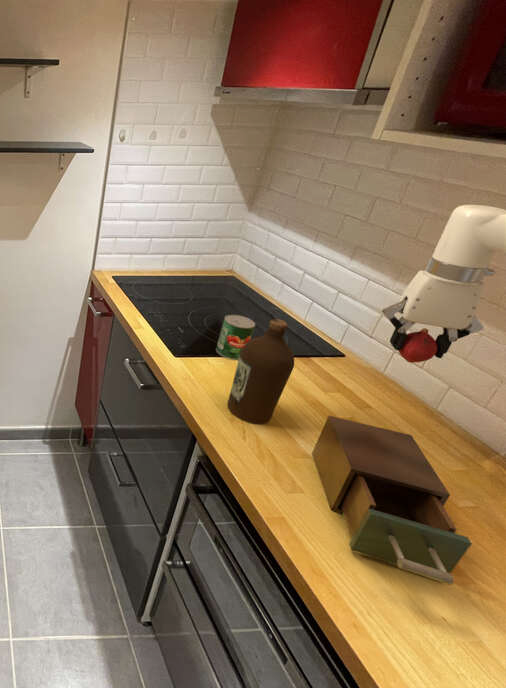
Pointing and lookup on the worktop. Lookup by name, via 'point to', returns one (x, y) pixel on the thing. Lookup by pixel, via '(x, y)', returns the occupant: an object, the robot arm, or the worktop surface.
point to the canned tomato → (234, 336)
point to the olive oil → (261, 375)
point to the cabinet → (371, 459)
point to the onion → (418, 347)
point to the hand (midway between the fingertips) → (415, 350)
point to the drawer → (402, 527)
